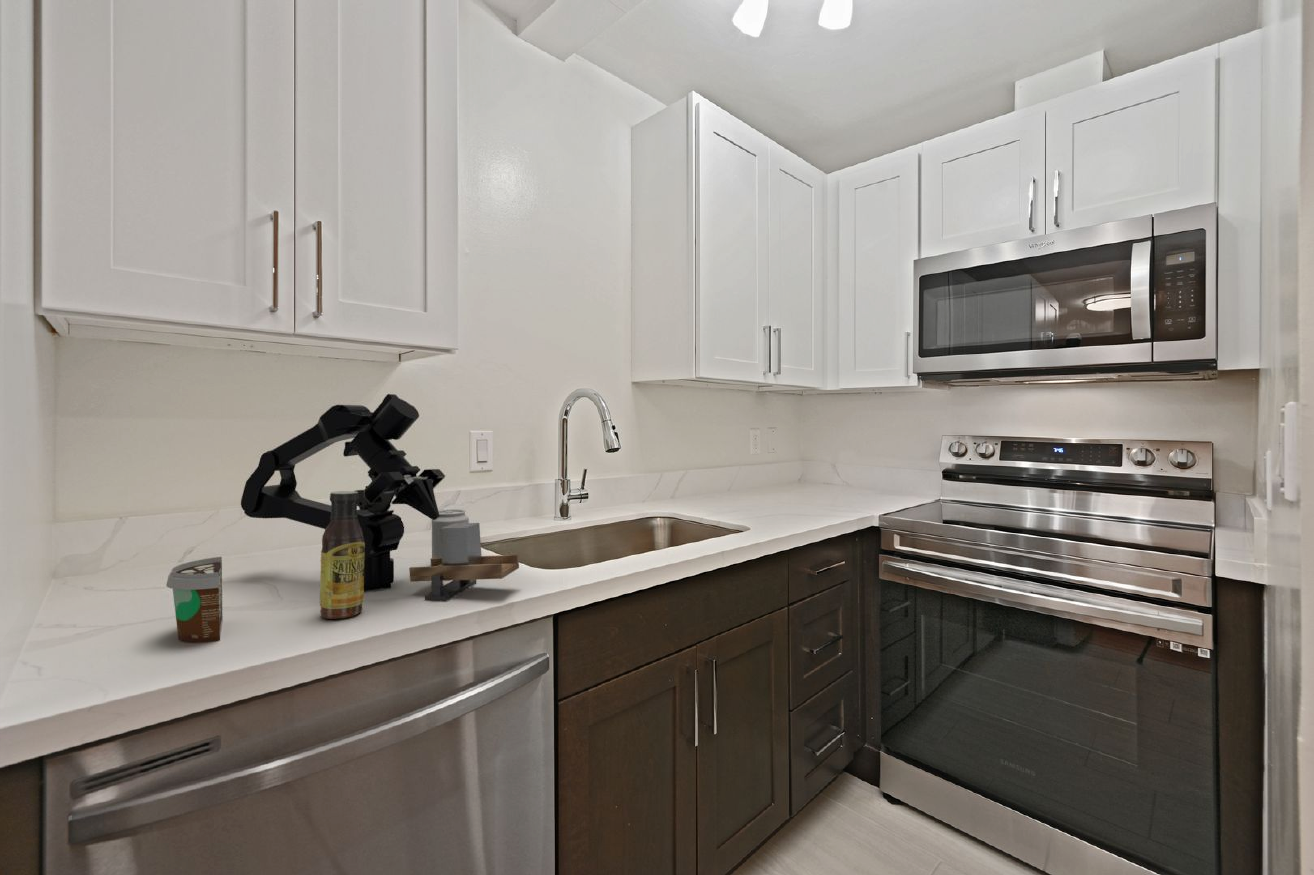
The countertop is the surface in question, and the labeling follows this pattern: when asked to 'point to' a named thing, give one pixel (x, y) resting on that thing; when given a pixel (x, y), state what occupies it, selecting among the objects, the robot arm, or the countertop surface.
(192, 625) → the food container
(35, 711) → the countertop surface
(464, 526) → the steel block
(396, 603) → the countertop surface
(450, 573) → the beam
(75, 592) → the countertop surface
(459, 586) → the stand
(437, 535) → the can
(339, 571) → the sauce bottle
